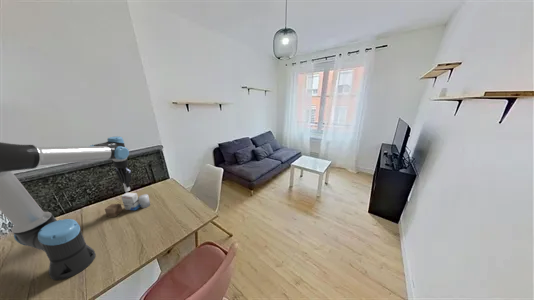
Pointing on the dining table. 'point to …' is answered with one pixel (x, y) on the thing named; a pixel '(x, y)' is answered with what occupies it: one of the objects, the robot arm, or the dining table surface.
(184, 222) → the dining table surface
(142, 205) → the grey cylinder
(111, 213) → the walnut block
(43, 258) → the dining table surface
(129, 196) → the ink box
